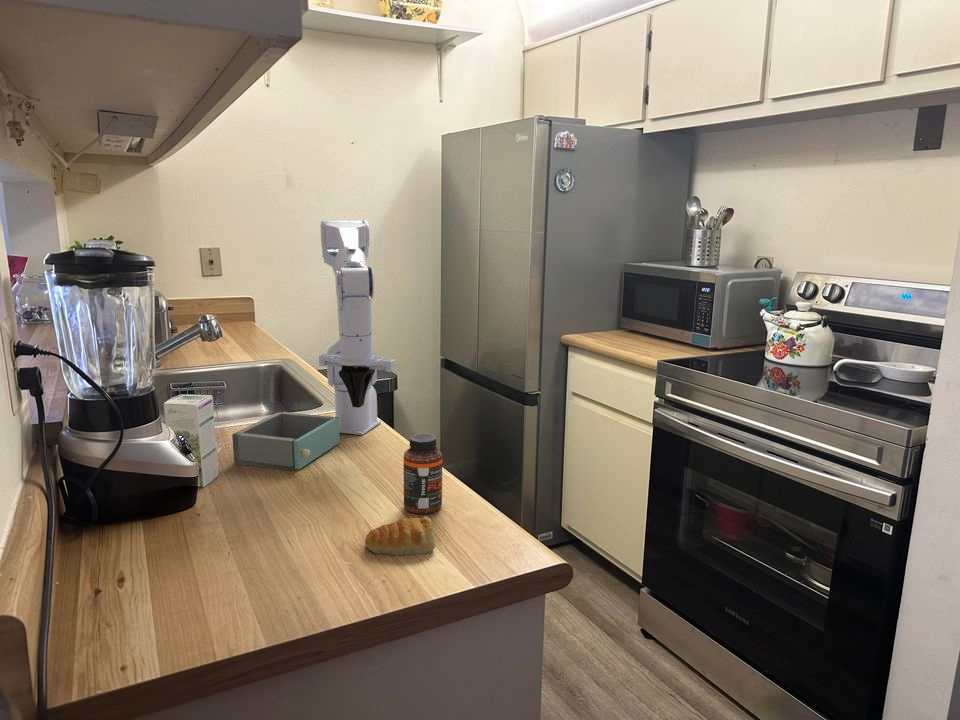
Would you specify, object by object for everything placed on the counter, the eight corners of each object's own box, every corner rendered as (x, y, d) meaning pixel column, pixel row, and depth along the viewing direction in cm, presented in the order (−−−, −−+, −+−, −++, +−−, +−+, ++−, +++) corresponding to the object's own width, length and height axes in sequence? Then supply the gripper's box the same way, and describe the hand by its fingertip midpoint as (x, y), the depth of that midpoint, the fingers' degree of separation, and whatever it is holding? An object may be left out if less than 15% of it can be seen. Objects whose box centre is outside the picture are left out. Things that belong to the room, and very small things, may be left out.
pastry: (367, 562, 88) (366, 535, 88) (363, 539, 95) (362, 514, 94) (438, 554, 91) (438, 528, 90) (429, 532, 97) (429, 507, 96)
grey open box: (280, 437, 136) (279, 411, 135) (334, 443, 133) (333, 416, 131) (234, 463, 122) (232, 434, 121) (293, 471, 119) (291, 441, 117)
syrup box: (220, 475, 116) (214, 393, 113) (203, 489, 111) (196, 403, 107) (188, 473, 117) (181, 392, 114) (169, 487, 111) (162, 402, 108)
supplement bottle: (433, 518, 101) (433, 445, 98) (397, 512, 103) (395, 441, 100) (448, 502, 106) (448, 433, 104) (413, 497, 108) (412, 429, 106)
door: (336, 441, 133) (336, 416, 132) (345, 442, 132) (344, 417, 131) (294, 469, 118) (293, 440, 117) (304, 470, 118) (303, 441, 117)
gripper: (309, 335, 121) (312, 408, 124) (383, 340, 117) (384, 415, 120) (328, 328, 128) (331, 398, 131) (399, 333, 124) (400, 405, 127)
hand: (358, 405), depth 126 cm, fingers closed
